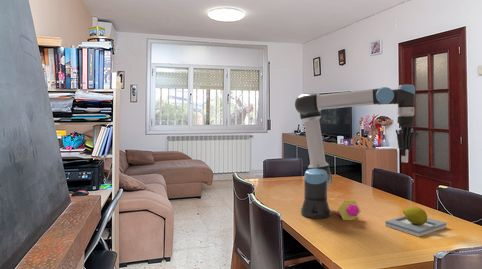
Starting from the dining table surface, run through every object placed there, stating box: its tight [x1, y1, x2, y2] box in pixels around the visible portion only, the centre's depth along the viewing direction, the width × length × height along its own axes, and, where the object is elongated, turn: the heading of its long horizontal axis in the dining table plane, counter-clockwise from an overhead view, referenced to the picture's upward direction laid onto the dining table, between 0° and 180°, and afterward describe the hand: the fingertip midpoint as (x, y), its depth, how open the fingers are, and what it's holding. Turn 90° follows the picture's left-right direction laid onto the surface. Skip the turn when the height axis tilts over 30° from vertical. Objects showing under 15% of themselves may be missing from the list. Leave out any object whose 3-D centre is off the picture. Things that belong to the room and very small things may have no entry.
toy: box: [337, 200, 362, 221], centre depth 161 cm, size 10×18×10 cm, turn 0°
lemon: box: [403, 206, 428, 225], centre depth 149 cm, size 11×8×8 cm
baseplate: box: [384, 215, 447, 237], centre depth 149 cm, size 22×16×2 cm
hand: (404, 162), depth 162 cm, fingers closed
